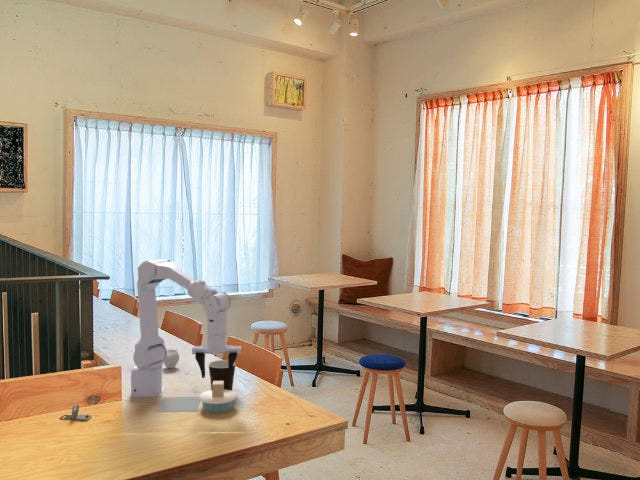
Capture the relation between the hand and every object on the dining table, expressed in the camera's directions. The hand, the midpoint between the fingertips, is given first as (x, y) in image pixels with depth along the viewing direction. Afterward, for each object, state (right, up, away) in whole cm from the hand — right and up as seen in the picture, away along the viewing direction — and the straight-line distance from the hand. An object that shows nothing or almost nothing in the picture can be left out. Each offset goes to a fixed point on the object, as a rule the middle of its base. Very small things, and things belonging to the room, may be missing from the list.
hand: (216, 376), depth 169 cm
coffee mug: (0, -9, +15) cm, 17 cm away
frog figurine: (-24, -7, +39) cm, 47 cm away
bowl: (0, -10, +1) cm, 10 cm away
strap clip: (-39, -10, -9) cm, 41 cm away
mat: (-12, -9, +3) cm, 15 cm away
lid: (0, -6, 0) cm, 6 cm away
